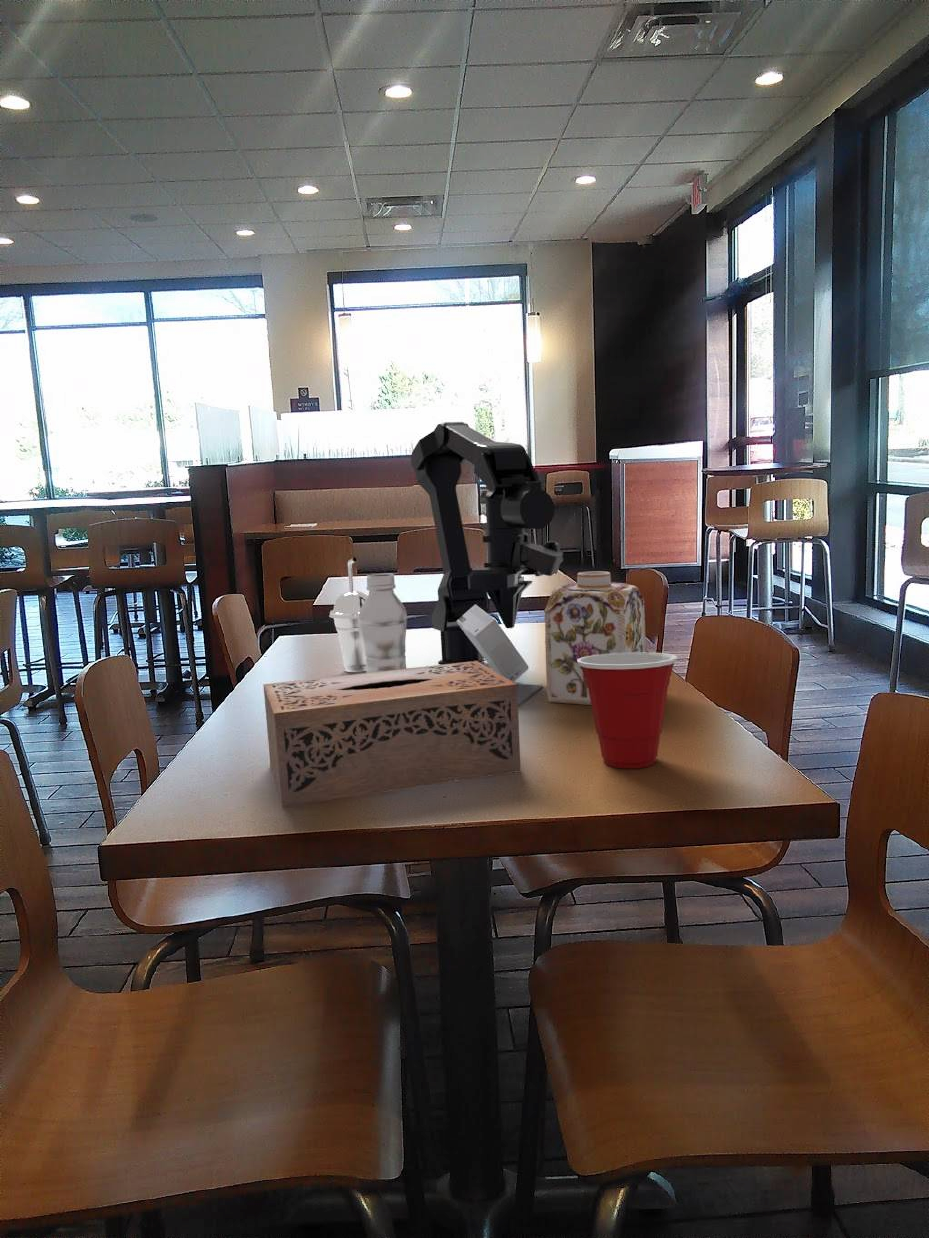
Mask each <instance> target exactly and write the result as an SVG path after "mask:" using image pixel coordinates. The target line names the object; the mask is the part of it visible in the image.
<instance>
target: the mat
mask: <svg viewBox="0 0 929 1238" xmlns="http://www.w3.org/2000/svg"><path fill="white" fill-rule="evenodd" d="M516 684H517V696H518V707H519V706H521V705H522V704H523V703H524V702H526V701H527V700H528V699H529V698H531V697H532V696H534V695H535V694H536V693H538V692H539V691H540V690H541V689H543V688H544V685H543V684H526V683H525V684H523V683H516Z"/></svg>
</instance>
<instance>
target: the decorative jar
mask: <svg viewBox="0 0 929 1238" xmlns="http://www.w3.org/2000/svg"><path fill="white" fill-rule="evenodd" d="M576 578H577V581H576V582H573V583H568V584H564V585H560V586H557V587H556V588H554V589H553V590H551V594H550V597H549V599H548V602H547V604H546V606H545V609H544V610H543V612H544V629H545V630H544V631H545V633H544V636H545V637H544V638H545V640H544V641H545V643H544V644H545V671H546V674H545V675H546V676H545V677H546V695H547V700H548V702H549V703H554V704H555V703H557V704H567V705H570V704H571V705H581V706H583V705H584V706H591V700H590V695H589V690H588V688H587V684H586V679H585V678H584V673H583V672H582V669H581V666H579V665H578V662H577V659H580V658H582V657H587V656H593V655H600V654H610V653H629V652H646V623H645V622H646V620H645V619H646V618H645V616H646V615H645V603H646V601H645V599H644V598H643V596H642V594H641V592H640V591H641V590H639V588H638V586H636V585H634V584H633V585H632V584H629V583H623V582H612V579H611V578H612V577H611V572H609V571H601V570H598V571H597V570H596V571H595V570H594V571H582V572H580V571H579V572H578V573H577V577H576Z"/></svg>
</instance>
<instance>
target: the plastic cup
mask: <svg viewBox="0 0 929 1238" xmlns="http://www.w3.org/2000/svg"><path fill="white" fill-rule="evenodd" d="M677 660H678V657H677V656H676V655H675V654H671V653H667V652H665V653H664V652H650V651H649V652H629V653H610V654H600V655H593V656H587V657H582V658H580V659H577V662H578V665H579V666H581V669H582V672H583V673H584V678H585V679H586V684H587V688H588V690H589V695H590V700H591V705H590V706H591V710H592V711H591V712H592V715H593V720H594V726H595V730H596V734H597V737H598V742H599V747H600V752H601V756H602V757H601V758H603V763H604V764H605V765H607V766H609V767H613V768H617V769H628V770H629V769H633V770H634V769H635V770H636V769H641V768H647V767H650V766H652V765H654V763H656V759H657V757H658V752H659V745H660V737H661V734H662V729H663V723H664V716H665V710H666V702H667V697H668V689H669V686H670V682H671V676H672V674H673V673H672V672H673V671H672V670H673V668H674V665H675V663H676V662H677Z"/></svg>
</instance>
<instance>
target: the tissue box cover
mask: <svg viewBox="0 0 929 1238" xmlns="http://www.w3.org/2000/svg"><path fill="white" fill-rule="evenodd" d="M406 668H407V667H406ZM517 684H518V683H515V681H514V682H512V681H510V680H509V679H507V678H505V677H503V676H502V675H500V674H498V673H497V672H496V671H494V670H493V669H492V668H491V667H489V666H486V665H484V664H483V663H481V662H480V661H479V662H478V661H471V662H462V663H453V664H436V665H426V666H418V667H408V668H407V669H398V670H389V671H380V672H371V673H367V672H361V673H356V674H354V673H353V674H346V675H345V674H344V675H337V676H336V675H335V676H329V677H327V676H326V677H318V678H317V677H316V678H309V679H300V680H299V679H298V680H290V681H282V682H272V683H264V684H263V697H264V707H265V719H266V730H267V731H266V732H267V741H268V743H267V744H268V753H269V755H268V756H269V764H270V769H271V772H272V776H273V779H274V783H275V787H276V791H277V794H278V797H279V800H280V805H281V807H282V808H283V807H284V808H285V807H290V806H296V805H297V806H298V805H303V804H304V805H305V804H311V803H317V802H324V801H331V800H338V799H343V798H344V799H345V798H350V797H351V798H352V797H357V796H363V795H364V796H365V795H371V794H377V793H383V792H390V791H391V792H392V791H396V790H404V789H411V788H416V787H425V786H431V785H437V784H445V783H450V782H449V781H452V782H456V781H455V780H458V781H464V780H470V779H471V780H472V779H476V778H483V777H485V778H486V777H491V775H492V776H497V774H498V775H504V774H503V773H505V774H510V773H509V772H512V773H516V772H515V771H518V772H521V767H522V766H521V749H520V748H521V747H520V724H519V722H520V721H519V706H518V696H517ZM444 782H445V783H444Z"/></svg>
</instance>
